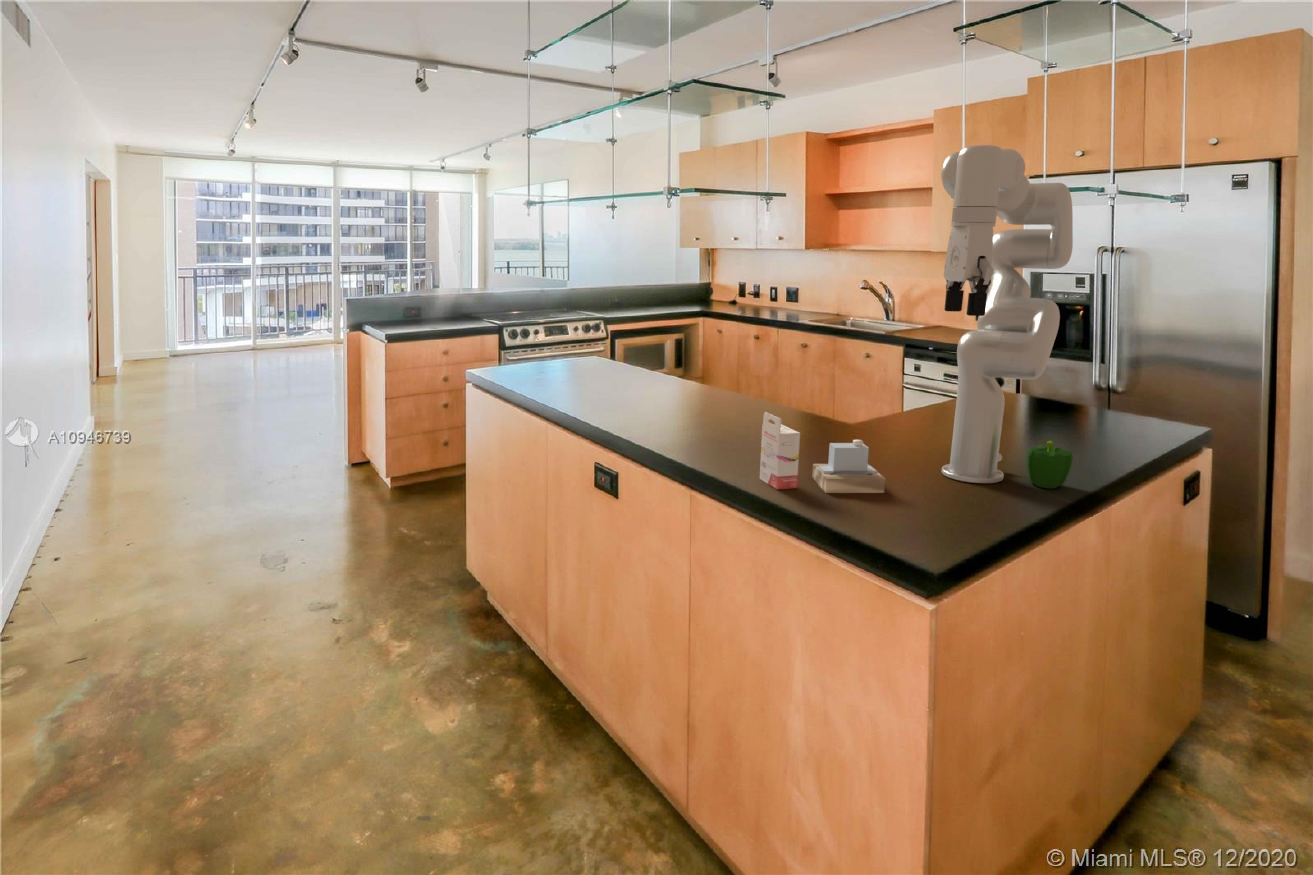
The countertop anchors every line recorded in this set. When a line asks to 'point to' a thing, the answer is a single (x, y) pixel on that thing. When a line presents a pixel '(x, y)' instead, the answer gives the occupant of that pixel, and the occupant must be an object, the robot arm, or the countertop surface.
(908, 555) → the countertop surface
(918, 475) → the countertop surface
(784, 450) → the ink cartridge box
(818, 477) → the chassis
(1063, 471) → the bell pepper
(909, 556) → the countertop surface
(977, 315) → the robot arm
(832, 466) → the servo
